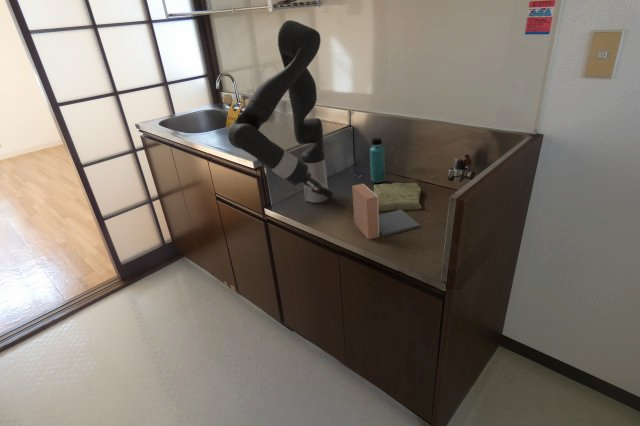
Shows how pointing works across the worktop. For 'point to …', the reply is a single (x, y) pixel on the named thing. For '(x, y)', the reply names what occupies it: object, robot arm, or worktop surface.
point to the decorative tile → (398, 196)
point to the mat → (395, 222)
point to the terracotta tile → (366, 210)
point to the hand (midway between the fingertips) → (330, 195)
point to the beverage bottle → (377, 161)
